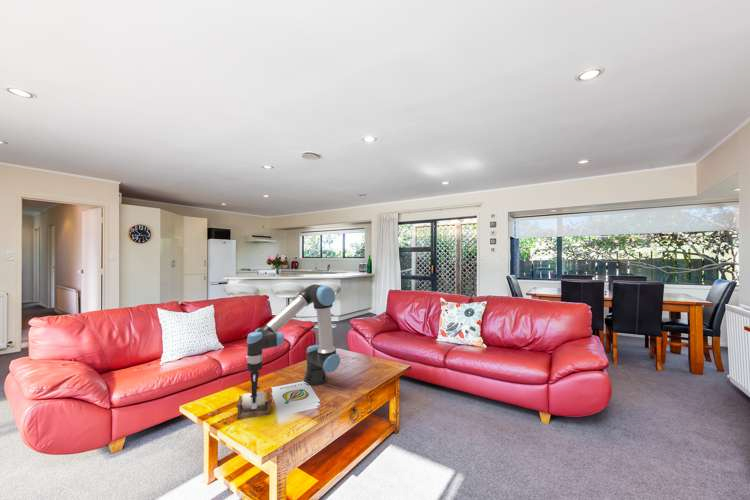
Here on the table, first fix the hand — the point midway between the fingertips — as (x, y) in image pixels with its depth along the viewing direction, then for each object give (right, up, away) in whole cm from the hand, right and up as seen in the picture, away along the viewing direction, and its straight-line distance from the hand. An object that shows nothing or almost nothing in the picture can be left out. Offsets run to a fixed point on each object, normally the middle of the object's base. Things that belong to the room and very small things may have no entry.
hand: (254, 405), depth 169 cm
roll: (0, +3, 0) cm, 3 cm away
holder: (0, -4, 0) cm, 4 cm away
